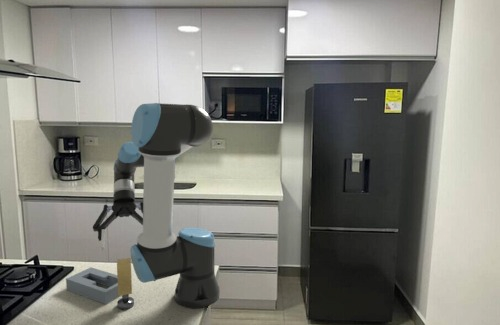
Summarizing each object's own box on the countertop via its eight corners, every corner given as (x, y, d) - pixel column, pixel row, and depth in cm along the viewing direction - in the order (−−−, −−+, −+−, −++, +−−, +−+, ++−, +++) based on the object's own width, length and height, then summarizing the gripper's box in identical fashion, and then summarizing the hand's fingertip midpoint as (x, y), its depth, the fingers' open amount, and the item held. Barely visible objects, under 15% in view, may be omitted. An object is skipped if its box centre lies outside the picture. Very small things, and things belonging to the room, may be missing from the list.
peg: (134, 300, 110) (132, 257, 108) (133, 308, 105) (132, 263, 103) (117, 302, 108) (115, 259, 106) (117, 311, 103) (115, 265, 101)
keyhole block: (129, 290, 116) (129, 278, 115) (106, 304, 107) (105, 292, 106) (91, 277, 124) (90, 267, 124) (66, 290, 115) (65, 278, 115)
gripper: (158, 197, 132) (161, 246, 120) (89, 201, 124) (85, 255, 112) (158, 186, 126) (162, 238, 114) (86, 190, 118) (82, 246, 106)
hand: (124, 246), depth 113 cm, fingers open, 13 cm apart
